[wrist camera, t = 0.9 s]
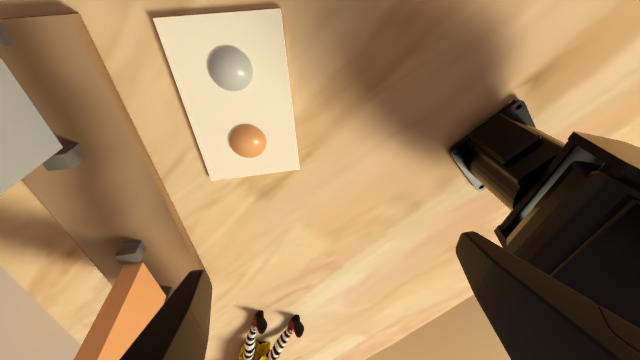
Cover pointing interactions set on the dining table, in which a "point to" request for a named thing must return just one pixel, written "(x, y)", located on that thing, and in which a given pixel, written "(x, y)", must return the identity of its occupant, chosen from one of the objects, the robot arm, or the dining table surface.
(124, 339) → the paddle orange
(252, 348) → the figurine
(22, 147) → the grey tall block
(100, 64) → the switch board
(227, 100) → the card
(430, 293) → the dining table surface
